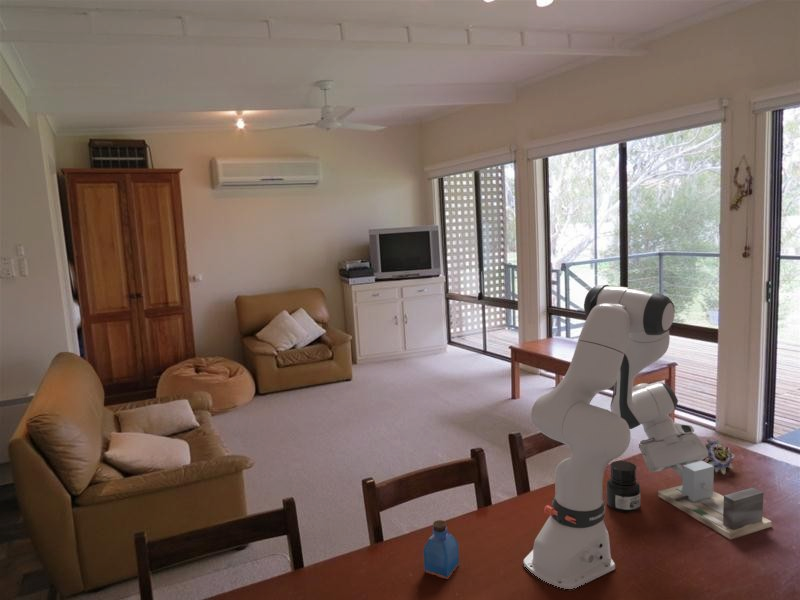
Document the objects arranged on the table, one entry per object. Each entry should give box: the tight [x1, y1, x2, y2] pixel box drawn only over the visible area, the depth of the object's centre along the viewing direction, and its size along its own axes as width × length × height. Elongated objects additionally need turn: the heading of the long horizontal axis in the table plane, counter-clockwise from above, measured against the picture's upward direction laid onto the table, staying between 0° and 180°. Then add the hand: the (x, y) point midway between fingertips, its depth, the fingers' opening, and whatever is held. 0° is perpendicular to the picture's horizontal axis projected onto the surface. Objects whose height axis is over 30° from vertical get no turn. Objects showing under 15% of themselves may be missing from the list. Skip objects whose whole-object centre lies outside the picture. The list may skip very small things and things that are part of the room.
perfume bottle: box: [422, 519, 460, 577], centre depth 134 cm, size 6×6×12 cm
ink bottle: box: [606, 460, 641, 513], centre depth 158 cm, size 10×9×12 cm
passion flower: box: [700, 437, 736, 476], centre depth 177 cm, size 11×11×12 cm
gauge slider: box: [676, 460, 715, 502], centre depth 155 cm, size 6×11×9 cm, turn 109°
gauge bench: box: [657, 484, 772, 540], centre depth 153 cm, size 24×14×10 cm, turn 19°
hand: (689, 479), depth 159 cm, fingers closed, pressing on gauge slider
